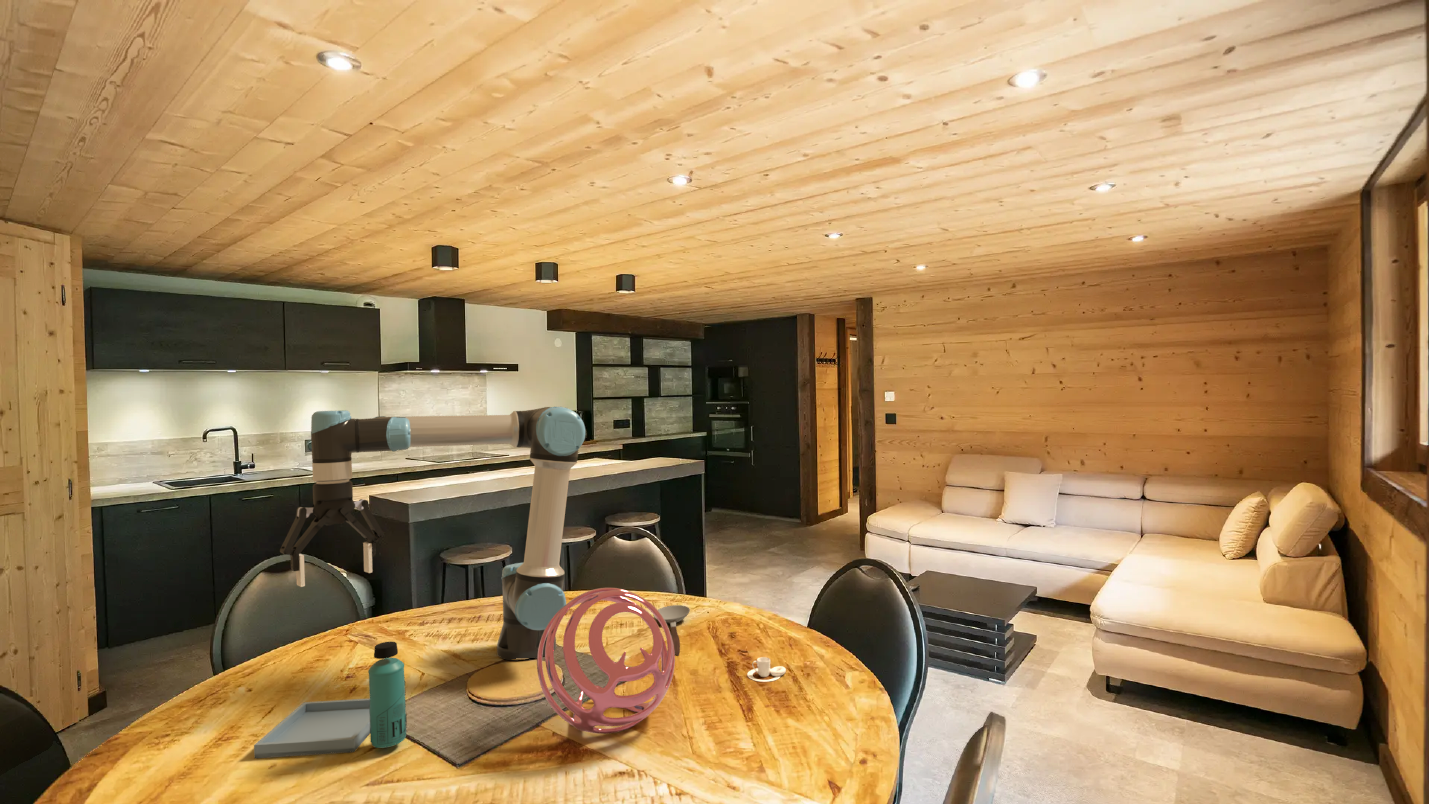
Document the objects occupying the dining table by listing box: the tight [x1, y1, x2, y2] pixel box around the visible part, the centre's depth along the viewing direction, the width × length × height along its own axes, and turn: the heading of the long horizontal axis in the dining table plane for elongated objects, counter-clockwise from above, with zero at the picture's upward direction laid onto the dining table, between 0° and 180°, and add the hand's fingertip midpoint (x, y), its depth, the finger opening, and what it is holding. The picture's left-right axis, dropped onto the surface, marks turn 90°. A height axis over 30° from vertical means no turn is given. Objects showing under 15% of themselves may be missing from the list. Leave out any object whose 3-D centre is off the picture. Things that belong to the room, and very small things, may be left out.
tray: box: [253, 698, 371, 759], centre depth 137 cm, size 18×18×2 cm
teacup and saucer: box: [747, 656, 787, 683], centre depth 160 cm, size 9×8×4 cm
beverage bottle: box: [367, 640, 408, 749], centre depth 130 cm, size 6×7×20 cm
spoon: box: [652, 604, 691, 657], centre depth 190 cm, size 11×33×3 cm, turn 6°
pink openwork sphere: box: [536, 587, 676, 735], centre depth 140 cm, size 28×28×27 cm
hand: (335, 578), depth 148 cm, fingers open, 13 cm apart
